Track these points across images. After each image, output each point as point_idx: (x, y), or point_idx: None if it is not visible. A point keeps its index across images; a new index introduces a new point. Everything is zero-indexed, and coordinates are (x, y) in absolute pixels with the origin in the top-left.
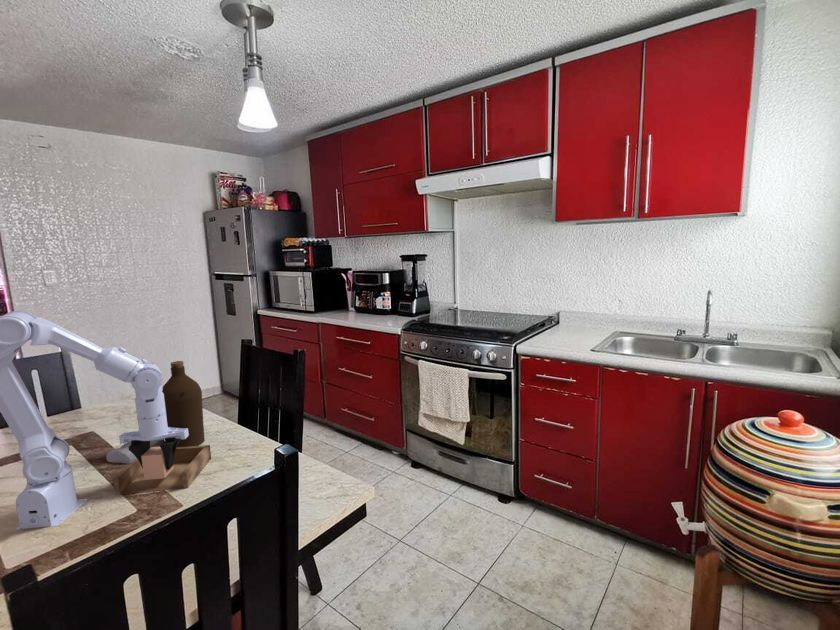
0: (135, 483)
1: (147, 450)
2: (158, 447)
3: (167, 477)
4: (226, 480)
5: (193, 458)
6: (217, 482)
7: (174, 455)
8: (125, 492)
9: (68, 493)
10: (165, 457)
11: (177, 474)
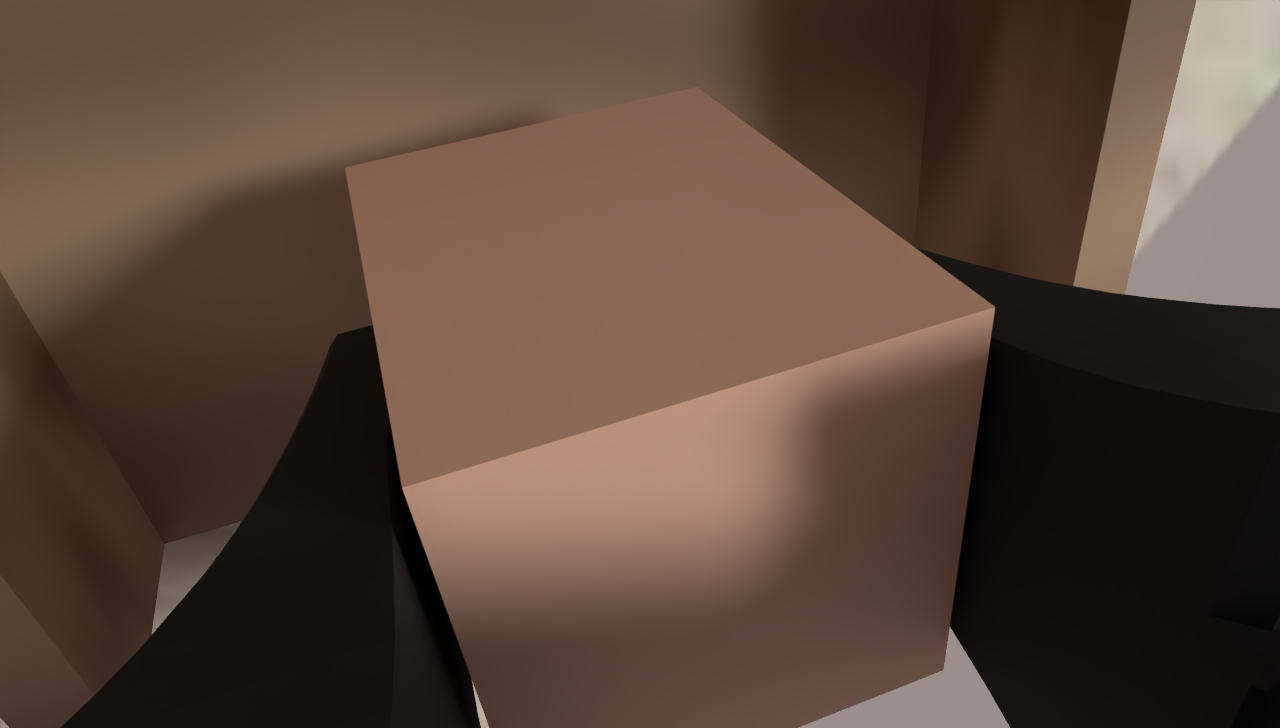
0: (139, 320)
1: (428, 628)
2: (671, 457)
3: (561, 110)
4: (1271, 68)
5: None
6: (1187, 116)
7: (931, 255)
8: (225, 511)
9: None
10: None
11: (671, 6)
